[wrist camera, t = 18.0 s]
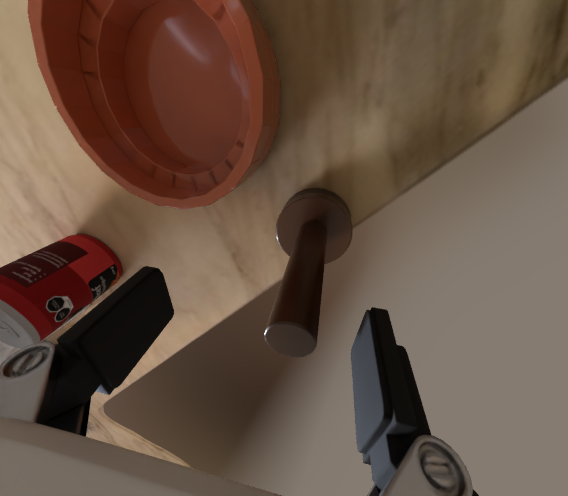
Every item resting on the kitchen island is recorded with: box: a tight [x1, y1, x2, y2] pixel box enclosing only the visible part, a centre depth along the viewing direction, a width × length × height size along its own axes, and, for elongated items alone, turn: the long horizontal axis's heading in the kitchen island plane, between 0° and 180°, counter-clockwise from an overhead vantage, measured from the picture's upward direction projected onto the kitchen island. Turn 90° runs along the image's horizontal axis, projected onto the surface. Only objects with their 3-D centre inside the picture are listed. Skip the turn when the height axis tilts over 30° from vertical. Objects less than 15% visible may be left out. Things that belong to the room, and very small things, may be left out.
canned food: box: [0, 234, 122, 349], centre depth 26 cm, size 8×8×11 cm
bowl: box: [28, 0, 281, 209], centre depth 16 cm, size 15×15×5 cm
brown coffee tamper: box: [265, 188, 352, 357], centre depth 15 cm, size 6×6×13 cm
